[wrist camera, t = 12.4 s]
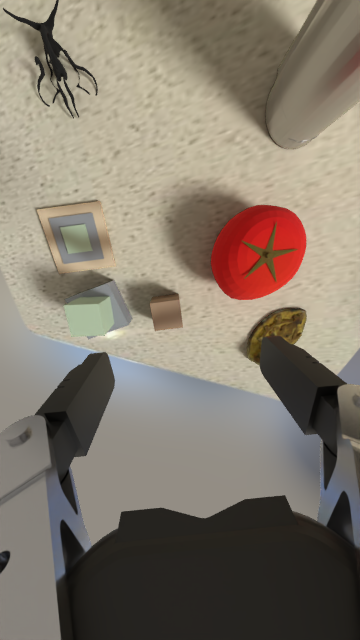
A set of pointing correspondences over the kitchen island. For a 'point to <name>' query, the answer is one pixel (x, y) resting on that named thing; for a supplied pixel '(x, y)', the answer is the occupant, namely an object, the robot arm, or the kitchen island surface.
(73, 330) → the sage block
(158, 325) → the walnut block
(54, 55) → the creature
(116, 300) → the grey base block
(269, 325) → the stuffed eggplant half
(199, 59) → the kitchen island surface
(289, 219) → the tomato
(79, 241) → the tile
